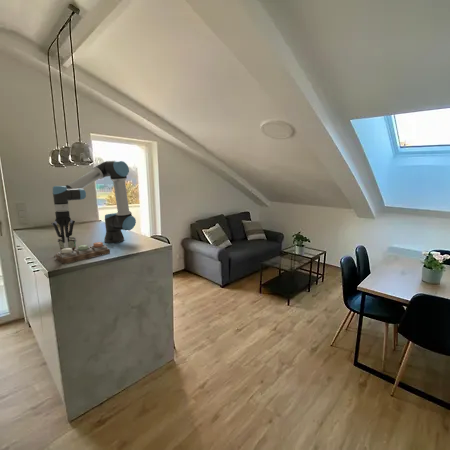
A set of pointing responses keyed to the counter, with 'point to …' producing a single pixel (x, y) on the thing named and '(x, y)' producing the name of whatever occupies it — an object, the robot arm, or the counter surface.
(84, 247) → the sage button
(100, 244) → the terracotta button
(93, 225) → the counter surface
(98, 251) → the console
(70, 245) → the food container
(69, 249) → the cream button
